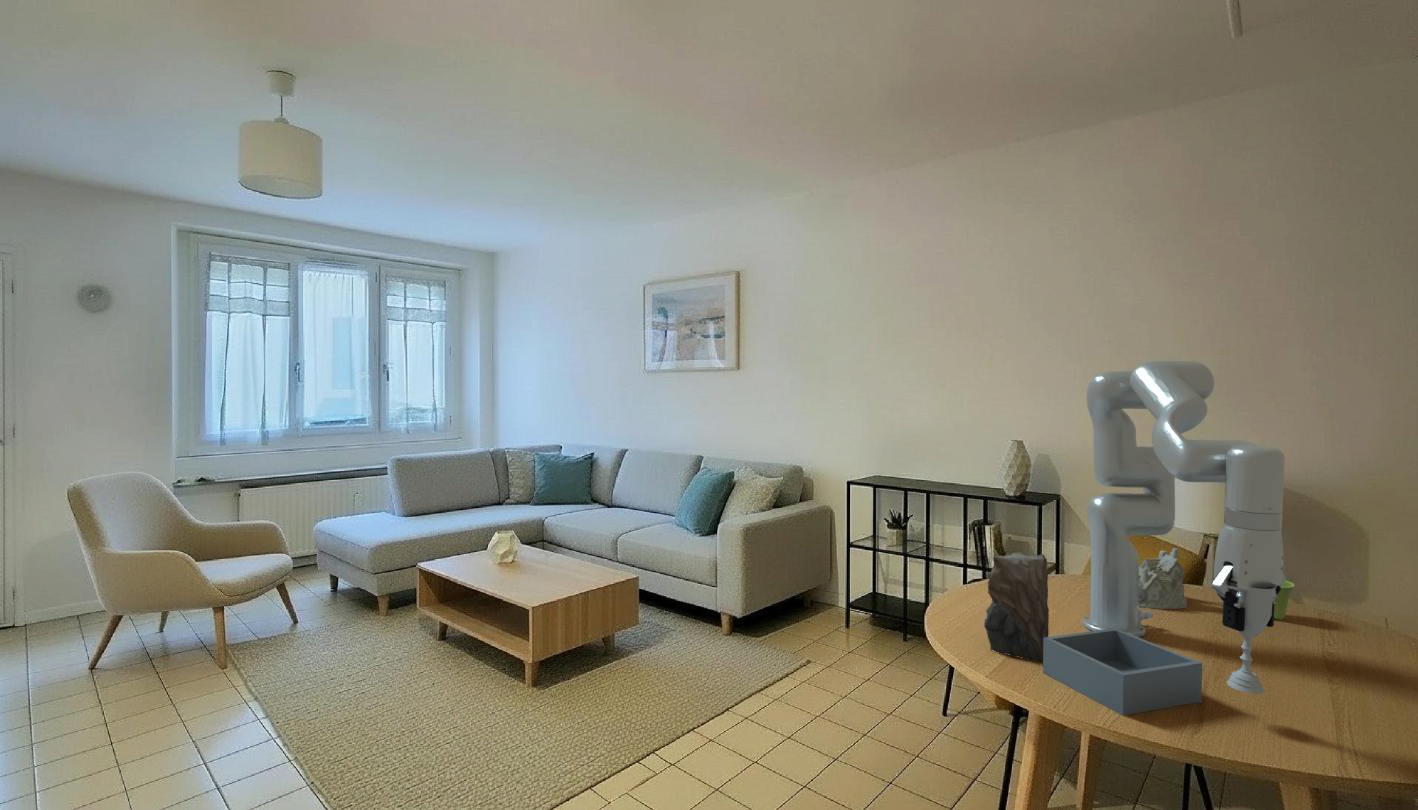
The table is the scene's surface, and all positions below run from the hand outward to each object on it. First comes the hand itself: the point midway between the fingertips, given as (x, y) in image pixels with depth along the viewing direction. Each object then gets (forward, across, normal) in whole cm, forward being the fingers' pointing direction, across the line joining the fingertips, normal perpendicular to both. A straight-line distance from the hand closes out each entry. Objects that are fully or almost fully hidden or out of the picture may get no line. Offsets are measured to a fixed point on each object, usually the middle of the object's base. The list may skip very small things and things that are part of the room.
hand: (1247, 625), depth 113 cm
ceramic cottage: (+19, -44, -54) cm, 72 cm away
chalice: (+11, 0, 0) cm, 11 cm away
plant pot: (+18, -60, -36) cm, 72 cm away
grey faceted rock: (+17, +14, -35) cm, 42 cm away
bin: (+17, +9, -16) cm, 25 cm away
